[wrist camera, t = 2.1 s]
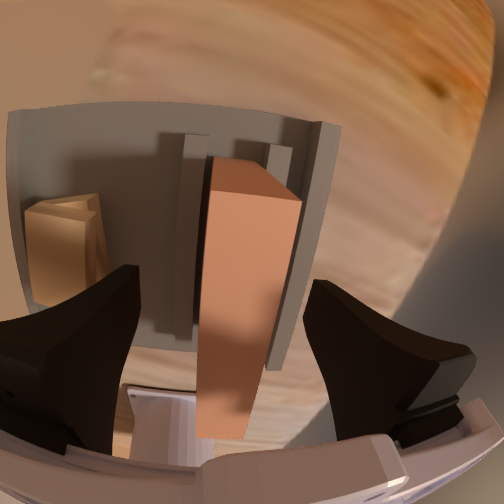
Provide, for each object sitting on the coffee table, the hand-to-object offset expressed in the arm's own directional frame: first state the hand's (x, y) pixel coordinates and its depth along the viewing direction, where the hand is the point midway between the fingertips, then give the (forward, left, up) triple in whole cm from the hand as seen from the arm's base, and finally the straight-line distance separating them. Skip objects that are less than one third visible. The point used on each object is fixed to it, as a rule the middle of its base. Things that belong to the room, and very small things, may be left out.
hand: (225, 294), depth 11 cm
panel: (0, 0, -4) cm, 4 cm away
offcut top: (0, +8, -3) cm, 9 cm away
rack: (0, +4, -5) cm, 7 cm away
